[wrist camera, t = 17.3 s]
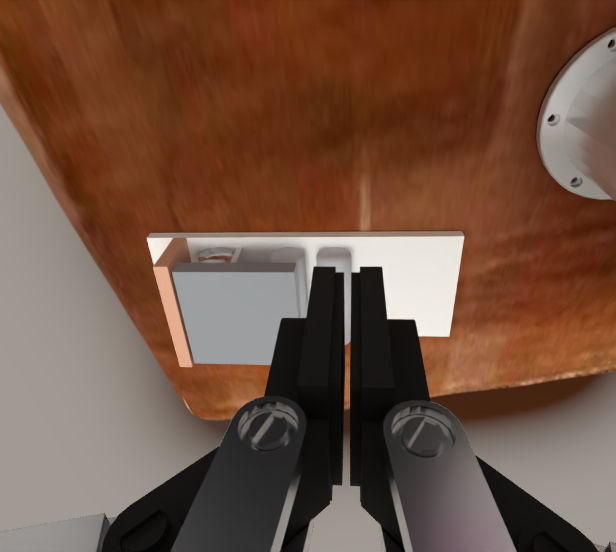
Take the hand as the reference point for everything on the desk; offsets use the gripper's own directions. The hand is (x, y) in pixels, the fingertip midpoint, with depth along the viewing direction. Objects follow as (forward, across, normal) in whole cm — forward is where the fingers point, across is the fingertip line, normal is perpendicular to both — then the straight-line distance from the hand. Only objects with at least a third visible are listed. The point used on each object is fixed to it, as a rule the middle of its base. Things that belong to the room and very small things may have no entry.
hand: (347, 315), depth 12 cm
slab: (+23, +10, +17) cm, 30 cm away
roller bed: (+27, +4, +17) cm, 32 cm away
